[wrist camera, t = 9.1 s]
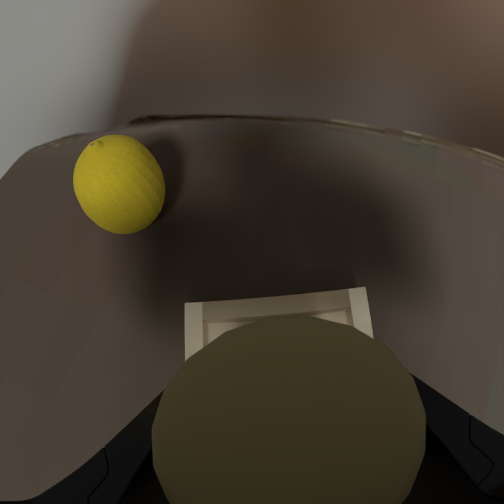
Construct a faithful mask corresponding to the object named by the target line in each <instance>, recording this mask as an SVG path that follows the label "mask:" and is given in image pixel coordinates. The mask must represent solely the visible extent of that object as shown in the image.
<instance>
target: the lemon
mask: <svg viewBox="0 0 504 504" xmlns="http://www.w3.org/2000/svg"><path fill="white" fill-rule="evenodd" d="M73 182H74V190H75V193H76V196H77V198H78V200H79V202H80V205H81V207H82V208H83V210H84V212H85V213H86V214H87V215H88V217H89V218H90V219H91V220H93V221H94V222H95V223H96V224H97V225H98V226H100V227H101V228H103V229H105V230H108V231H110V232H113V233H116V234H131V233H136V232H138V231H140V230H142V229H144V228H146V227H147V226H149V225H150V224H151V223H152V222H153V221H154V220H155V219H156V217H157V216H158V214H159V213H160V211H161V209H162V206H163V203H164V199H165V183H164V178H163V174H162V171H161V168H160V166H159V165H158V163H157V161H156V160H155V158H154V156H153V155H152V154H151V153H150V151H149V150H148V149H147V148H146V147H145V146H143V145H142V144H141V143H139V142H138V141H137V140H135V139H133V138H131V137H128V136H124V135H108V136H104V137H101V138H99V139H97V140H95V141H93V142H91V143H90V144H89V145H88V146H87V147H86V148H85V149H84V151H83V152H82V153H81V155H80V156H79V158H78V160H77V163H76V165H75V170H74V175H73Z"/></svg>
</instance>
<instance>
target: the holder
mask: <svg viewBox="0 0 504 504" xmlns="http://www.w3.org/2000/svg"><path fill="white" fill-rule="evenodd" d="M307 315H308V316H312V317H316V318H321V319H325V320H329V321H333V322H337V323H342V324H346V325H350V326H353V327H355V328H356V329H358V330H360V331H361V332H363V333H365V334H366V335H368V336H370V337H371V338H373V331H372V324H371V318H370V311H369V305H368V299H367V293H366V288H365V287H359V288H351V289H342V290H334V291H325V292H315V293H306V294H296V295H285V296H274V297H263V298H251V299H238V300H225V301H210V302H194V303H185V362H186V360H187V359H188V358H189V357H191V356H192V355H193V354H195V353H196V352H198V351H199V350H201V349H202V348H203V347H205V346H206V345H208V344H209V343H210V342H212V341H213V340H215V339H216V338H217V337H219V336H220V335H221V334H223V333H224V332H226V331H229V330H232V329H235V328H238V327H241V326H244V325H247V324H249V323H252V322H255V321H258V320H261V319H263V318H271V317H291V316H307ZM373 339H374V338H373Z"/></svg>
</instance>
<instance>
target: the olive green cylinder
mask: <svg viewBox="0 0 504 504" xmlns="http://www.w3.org/2000/svg"><path fill="white" fill-rule="evenodd" d="M425 442H426V413H425V410H424V407H423V404H422V401H421V398H420V395H419V392H418V390H417V387H416V384H415V381H414V379H413V377H412V376H411V374H410V373H409V372H408V371H407V370H406V368H405V367H404V366H403V365H402V364H401V362H400V361H399V360H398V359H397V358H396V356H395V355H394V354H393V353H392V352H391V350H390V349H389V348H388V347H386V346H385V345H383V344H381V343H380V342H378V341H376V340H375V339H373V338H371V337H370V336H368V335H366V334H365V333H363V332H361V331H360V330H358V329H356V328H355V327H353V326H350V325H346V324H342V323H337V322H333V321H329V320H325V319H321V318H316V317H312V316H308V315H307V316H291V317H271V318H263V319H261V320H258V321H255V322H252V323H249V324H247V325H244V326H241V327H238V328H235V329H232V330H229V331H226V332H224V333H223V334H221V335H220V336H219V337H217V338H216V339H215V340H213V341H212V342H210V343H209V344H208V345H206V346H205V347H203V348H202V349H201V350H199V351H198V352H196V353H195V354H193V355H192V356H191V357H189V358H188V359H187V360H186V362H185V363H184V364H183V366H182V367H181V368H180V370H179V371H178V372H177V374H176V375H175V376H174V378H173V379H172V380H171V382H170V383H169V384H168V386H167V387H166V388H165V390H164V391H163V394H162V397H161V400H160V403H159V406H158V410H157V413H156V416H155V419H154V422H153V425H152V453H153V467H154V469H155V472H156V474H157V477H158V479H159V482H160V484H161V487H162V489H163V491H164V493H165V496H166V498H167V500H168V502H169V503H170V504H402V503H403V501H404V500H405V499H406V497H407V496H408V495H409V493H410V491H411V488H412V486H413V484H414V481H415V479H416V476H417V473H418V471H419V468H420V465H421V462H422V460H423V457H424V454H425Z"/></svg>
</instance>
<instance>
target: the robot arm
mask: <svg viewBox="0 0 504 504" xmlns="http://www.w3.org/2000/svg"><path fill="white" fill-rule="evenodd" d="M409 373H410V372H409ZM410 374H411V373H410ZM411 376H412V377H413V379H414V381H415V384H416V387H417V390H418V392H419V395H420V398H421V401H422V404H423V407H424V410H425V413H426V442H425V454H424V457H423V460H422V462H421V465H420V468H419V471H418V473H417V476H416V479H415V481H414V484H413V486H412V488H411V491H410V493H409V495H408V496H407V497H406V499H405V500H404V501H403V503H402V504H504V435H503V434H501V433H499V432H498V431H496V430H494V429H492V428H491V427H489V426H487V425H486V424H484V423H483V422H481V421H480V420H478V419H477V418H475V417H474V416H472V415H469V413H468V412H466V411H465V410H463V409H462V408H460V407H459V406H457V405H456V404H455V403H453V402H452V401H450V400H449V399H447V398H446V397H444V396H443V395H441V394H440V393H439V392H437V391H436V390H434V389H433V388H431V387H430V386H428V385H427V384H425V383H424V382H423V381H421V380H420V379H418V378H417V377H415V376H414V375H412V374H411ZM164 390H165V389H164ZM164 390H163V391H164ZM163 391H162V392H161V393H160V394H159V395H158V396H157V397H156V398H155V399H154V400H153V401H152V402H151V403H150V404H149V405H148V406H147V407H146V408H145V409H144V410H143V411H142V412H140V413H139V414H138V415H137V416H136V417H135V418H134V419H133V420H132V421H131V422H130V423H129V424H128V425H127V426H126V427H125V428H124V429H122V430H121V431H120V432H119V433H118V434H117V435H116V436H115V437H114V438H113V439H112V440H111V441H110V442H109V443H107V444H106V445H105V448H102V449H101V450H100V451H99V452H97V453H96V454H95V455H94V456H93V457H92V458H91V459H89V460H88V461H87V462H86V463H85V464H84V465H82V466H81V467H80V468H78V469H77V470H76V471H74V472H73V473H72V474H70V475H69V476H67V477H66V478H64V479H63V480H61V481H60V482H59V483H57V484H56V485H54V486H53V487H51V488H50V489H48V490H46V491H45V492H43V493H42V494H40V495H38V496H36V497H34V498H31V499H28V500H23V501H0V504H170V503H169V502H168V500H167V498H166V496H165V493H164V491H163V489H162V487H161V484H160V482H159V479H158V477H157V474H156V472H155V469H154V467H153V453H152V425H153V422H154V419H155V416H156V413H157V410H158V406H159V403H160V400H161V397H162V394H163Z"/></svg>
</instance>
